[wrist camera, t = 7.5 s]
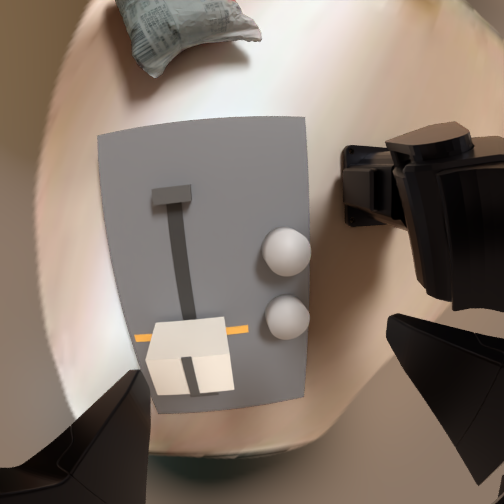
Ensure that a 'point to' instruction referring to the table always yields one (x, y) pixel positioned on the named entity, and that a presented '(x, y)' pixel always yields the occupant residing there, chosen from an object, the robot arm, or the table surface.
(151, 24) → the packaged food
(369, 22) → the table surface
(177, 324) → the block
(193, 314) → the console
